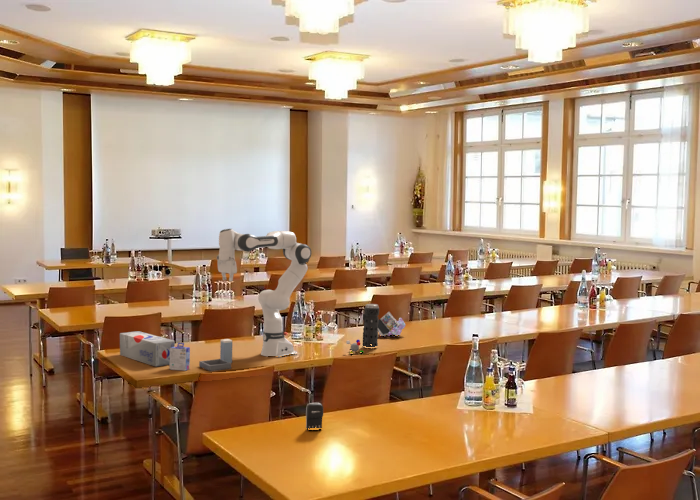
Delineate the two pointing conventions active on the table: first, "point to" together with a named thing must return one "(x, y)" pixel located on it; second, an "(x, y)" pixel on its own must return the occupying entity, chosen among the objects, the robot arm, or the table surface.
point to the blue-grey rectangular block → (226, 350)
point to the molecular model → (354, 346)
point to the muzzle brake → (370, 325)
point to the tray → (215, 365)
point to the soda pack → (146, 348)
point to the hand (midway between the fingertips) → (227, 280)
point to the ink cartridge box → (180, 357)
